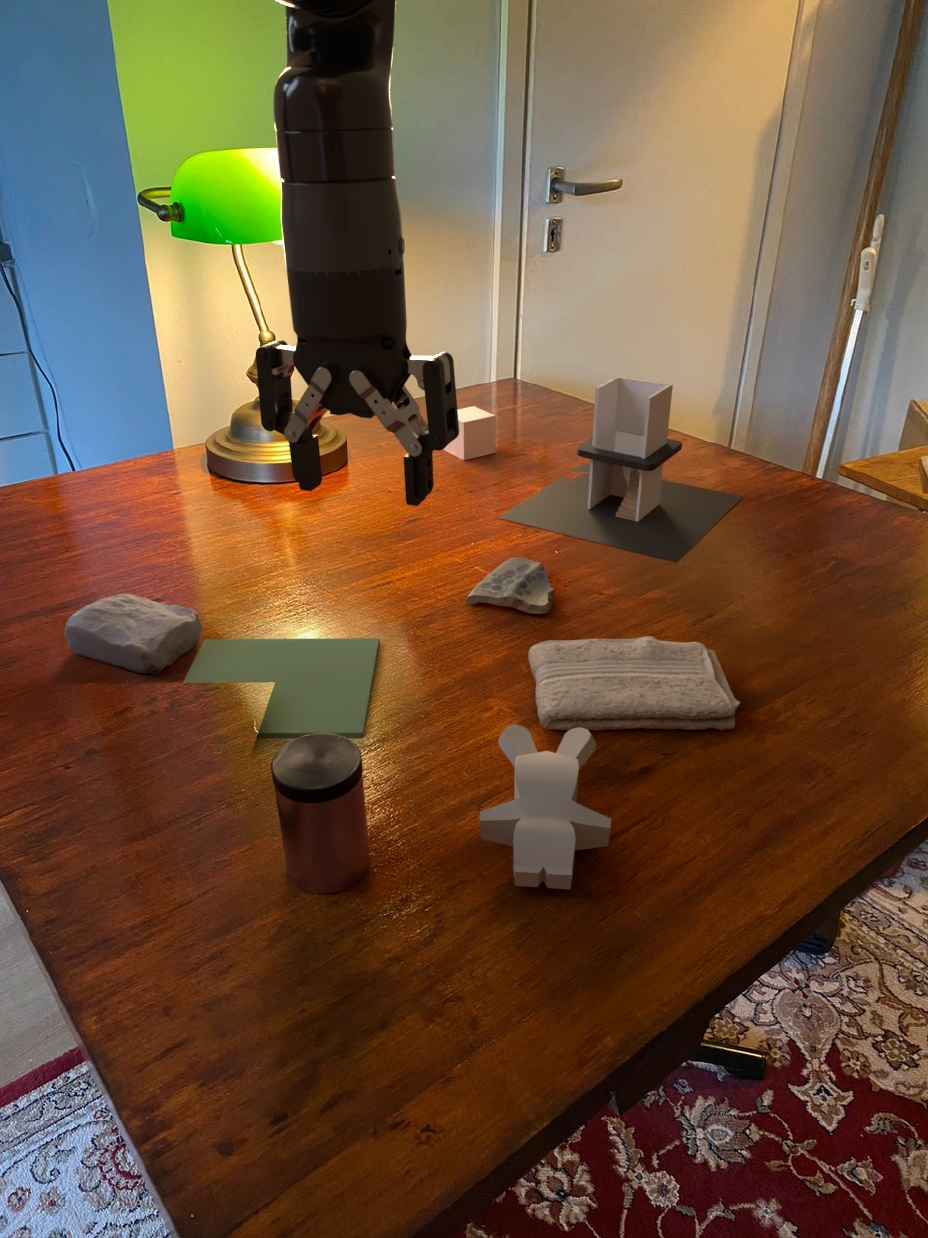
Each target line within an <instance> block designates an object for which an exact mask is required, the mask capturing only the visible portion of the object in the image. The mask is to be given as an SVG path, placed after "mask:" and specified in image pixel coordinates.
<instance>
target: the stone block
mask: <svg viewBox="0 0 928 1238" xmlns="http://www.w3.org/2000/svg"><path fill="white" fill-rule="evenodd" d="M202 627H203V626H202V623H201V620H200V617H199V614H198V613H197V611H196V610H195V609H193V608H187V607H183V606H182V605H180V604H171V605H169V604H166V603H164V602H158V601H153V600H151V599H150V598H147V597H144V596H142V595H141V596H140V595H136V594H131V593H116V594H113V595H110V596H107V597H104V598H98V599H97V600H96V601H94V602H92V603H89V604H86V605H85V606H83V607H82V608H81V609H79V610H77V611H76V612H75V613H74V614H72V615H71V616H70V617H69V618H68V619H67V622H66V624H65V629H64V637H65V639H66V643H67V647H68V650H69V651H70V652H72V653H73V654H75V655H78V656H81V657H85V658H88V659H91V660H94V661H97V662H101V663H105V664H108V665H110V666H113V667H119V668H124V669H126V670H127V671H131V672H134V673H138V674H150V675H155V676H156V675H159V674H161V672H163V670H164V669H165V668H167V667H171V666H172V665H173V664H174V663H175V661H176V660H177V659H178V658H179V657H181V656H183V655H184V654H186V653H187V652H189V651H191V650H192V649H193V648H194V647H195V646H197V645H198V643H199V642H200V639H201V634H202V629H203V628H202Z"/></svg>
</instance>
